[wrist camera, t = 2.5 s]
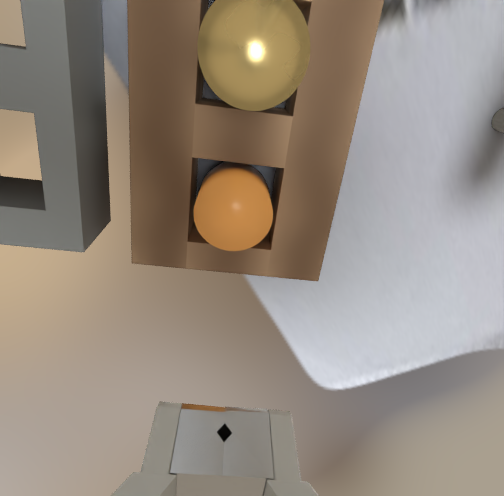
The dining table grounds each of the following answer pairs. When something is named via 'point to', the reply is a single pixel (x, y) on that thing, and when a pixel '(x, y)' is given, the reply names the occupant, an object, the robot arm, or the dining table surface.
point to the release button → (233, 207)
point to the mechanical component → (498, 121)
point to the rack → (58, 127)
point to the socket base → (241, 137)
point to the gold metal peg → (253, 51)
